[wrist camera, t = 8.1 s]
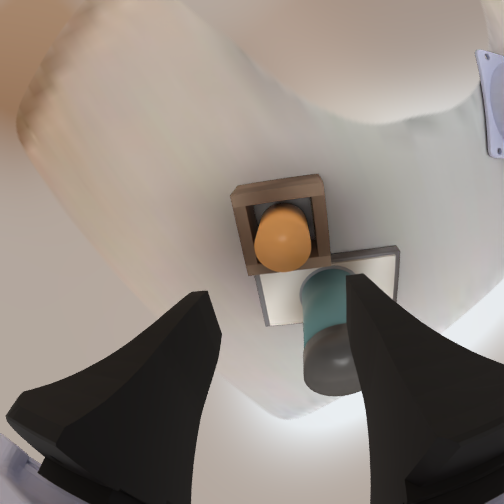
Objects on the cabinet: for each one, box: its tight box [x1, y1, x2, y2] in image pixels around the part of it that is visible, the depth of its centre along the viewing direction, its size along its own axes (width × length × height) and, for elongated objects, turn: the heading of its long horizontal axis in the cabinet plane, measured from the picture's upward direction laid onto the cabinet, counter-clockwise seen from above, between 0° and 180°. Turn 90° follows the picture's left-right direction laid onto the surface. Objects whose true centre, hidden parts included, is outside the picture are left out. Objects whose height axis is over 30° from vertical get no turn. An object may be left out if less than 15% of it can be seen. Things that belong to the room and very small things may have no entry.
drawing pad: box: [254, 246, 400, 326], centre depth 19 cm, size 10×5×1 cm, turn 101°
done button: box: [254, 203, 311, 272], centre depth 15 cm, size 3×3×3 cm
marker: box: [302, 269, 361, 396], centre depth 16 cm, size 4×4×7 cm
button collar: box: [230, 174, 331, 276], centre depth 17 cm, size 5×5×2 cm
